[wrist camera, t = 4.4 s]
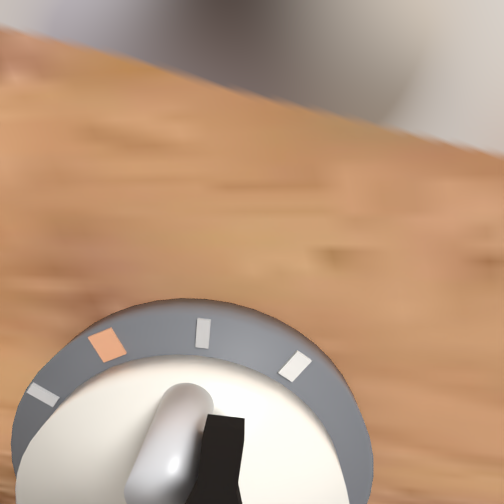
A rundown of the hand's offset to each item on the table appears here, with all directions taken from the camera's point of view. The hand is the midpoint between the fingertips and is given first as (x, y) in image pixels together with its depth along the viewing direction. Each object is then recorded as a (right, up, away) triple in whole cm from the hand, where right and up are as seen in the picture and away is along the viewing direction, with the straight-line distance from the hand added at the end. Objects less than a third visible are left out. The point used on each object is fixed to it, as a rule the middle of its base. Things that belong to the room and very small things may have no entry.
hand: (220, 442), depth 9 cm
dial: (-2, -5, +4) cm, 6 cm away
